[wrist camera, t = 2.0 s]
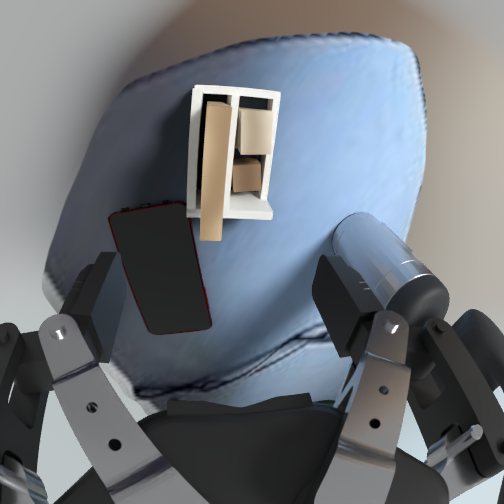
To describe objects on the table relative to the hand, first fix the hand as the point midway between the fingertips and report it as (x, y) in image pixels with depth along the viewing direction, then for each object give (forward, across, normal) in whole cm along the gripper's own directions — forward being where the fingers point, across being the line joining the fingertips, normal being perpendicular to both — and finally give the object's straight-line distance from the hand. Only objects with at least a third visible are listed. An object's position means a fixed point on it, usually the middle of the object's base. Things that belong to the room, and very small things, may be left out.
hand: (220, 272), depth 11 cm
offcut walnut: (+28, -4, +3) cm, 29 cm away
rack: (+28, -2, 0) cm, 28 cm away
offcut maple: (+25, -5, -3) cm, 26 cm away
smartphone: (+29, +7, +21) cm, 36 cm away
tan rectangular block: (+28, 0, 0) cm, 28 cm away
